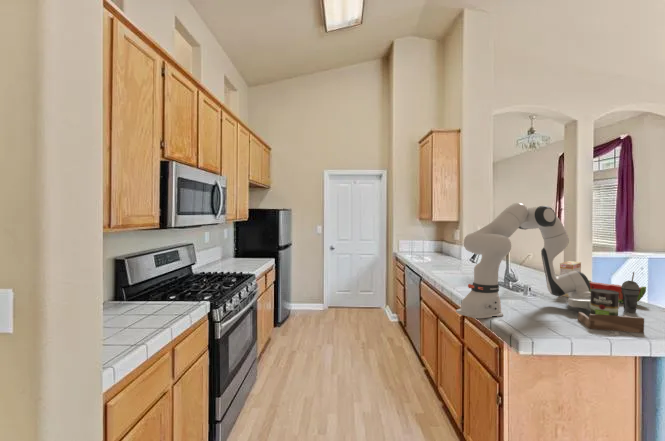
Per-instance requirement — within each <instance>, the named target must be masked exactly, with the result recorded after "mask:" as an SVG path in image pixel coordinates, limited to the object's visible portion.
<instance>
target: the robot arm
mask: <svg viewBox="0 0 665 441" xmlns="http://www.w3.org/2000/svg"><path fill="white" fill-rule="evenodd" d="M518 229H520V230H525V231H526V230H534V229H535V230H536V229H538V230H540V234H541V236H542V239H543V242H544V243H543V247H542V248H541V251H540V252H541V259H542V260H541V261H542V265H543V269H544V274H545V281H546V288H547V290H548V292H549V293H550V294H551V295H552V296H555V297H557V298H559V297H563V296H562V295H565V294H567V293H568V296H569V297H567V298H564V301H565V302H567V304H568V306H569V307H571V308H578V309H579V308H581V309H583V310H585V311H586V310H587V311H590V305H591V292H589V290H590V283H589V278H588V277H587V276H586V274H584V273H583V272H582V271H581V272H580V271H577V270H575V271H572V272H569V273H566V274H563V275H560V274H559V275H557V276H556V273H555V268H554V260H555V258H556V257H557V256H558V255H559V254H561V253H562V252H563V251H565V249H567V247H568V246H569V243H570V238H569V235H568V233H567V230H566V228H565V226H564V224H563V223H562V220H561V219H560V218H559V217H558V216H557V215H556V212H555V210H554V209H553V208H552V207H550V206H549V205H541V206H535V207H534V206H533V207H528V208H527V206H526V205H525V204H523V203H522V202H515V203H512V204H510V205H509V206H508V207H506V208H504V210H502V211H501V213H499V214H498V215H497V216H496V217H495V219H493V220H492V221H491V222H489V223H488V224H486V225H485V226H483V227H482V228H480V229H478V230H476V231H473V232H471V233H469V234H467V235H466V236H465V237H464V239H463V247H464V249H465V250H466V251H468V252H470V253H471V254H475V255H480V256H481V258H480V261H479V263H477V264H475V266H474V268H473V282H472V284H470V283H469V284H468V283H467V288H468V289H471V290H470V292H468V293H467V295H466V296H465V297H463V298H462V300H461V304H460V305H461V306H460V308H458V309H455V312H456V313H457V314H459V315H461V316H465V317H468V318H473V319H474V318H475V319H479V320H480V319H485V318H487V319H488V318H493V317H492V316H497V317H504V312H502V304H501V297H500V295H499V291H500V284H499V271H500V270H499V269H500V265H501V263H502V262H503V259H504V258H505V257H506V256H508V255H509V254H510V252H511V249H512V241H511V240H510V237H512V236H513V235H514V233H516V231H517V230H518ZM619 304H620V303H618V310H620V305H619Z"/></svg>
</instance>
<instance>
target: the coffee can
mask: <svg viewBox="0 0 665 441" xmlns="http://www.w3.org/2000/svg"><path fill="white" fill-rule="evenodd" d="M590 291H591V305H590V310H589V312H590V313H589V314H599V315H613V316H619V309H618V301H619V292H616V291H612V290H606V289H591V290H590Z"/></svg>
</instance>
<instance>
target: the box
mask: <svg viewBox="0 0 665 441" xmlns="http://www.w3.org/2000/svg"><path fill="white" fill-rule="evenodd" d="M577 312H578V314H577V320H578V321H579V322H581V323H582V324H583V325H585V326H586V327H587V328H589V330H600V331H612V332H613V331H614V332H626V333H638V334H639V333H641V334H644V333H645V318H644V317H641V316H640V317H639V316H629V315H628V314H623V315H618V316H613V315H599V314H590V313H589V314H588V315H587V314H585V313H584V312H582V311H577Z"/></svg>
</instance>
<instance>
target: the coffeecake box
mask: <svg viewBox="0 0 665 441" xmlns="http://www.w3.org/2000/svg"><path fill="white" fill-rule="evenodd" d="M575 270H577V271H580V272H581V273H582V262H581V261H575V260H574V261H573V260H568V261H564V262H560V263H559V276H560V275H563V274H566V273H569V272H572V271H575ZM565 296H566V297H565ZM561 297H565V298H568V297H569V296H568V293H567V294H565V295H562V296H561Z"/></svg>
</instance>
